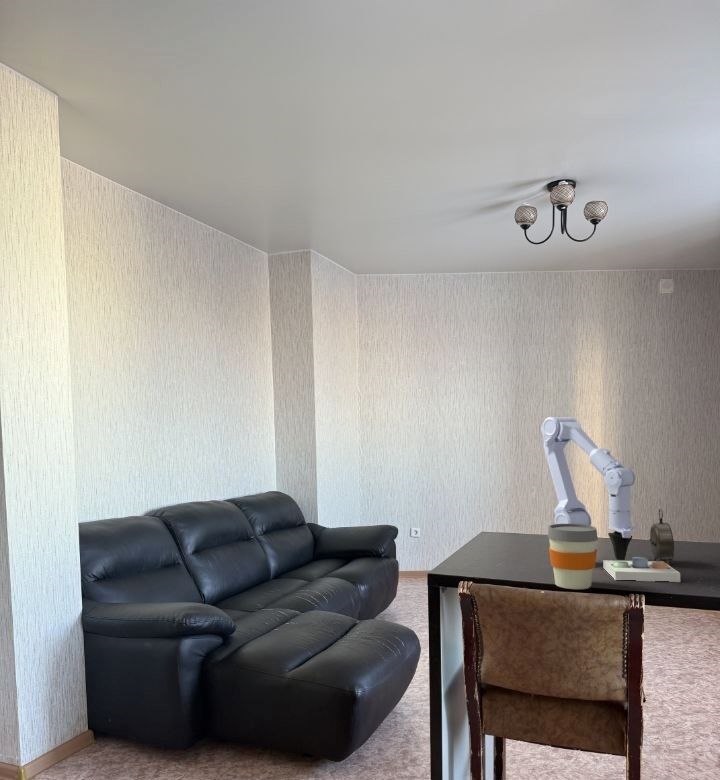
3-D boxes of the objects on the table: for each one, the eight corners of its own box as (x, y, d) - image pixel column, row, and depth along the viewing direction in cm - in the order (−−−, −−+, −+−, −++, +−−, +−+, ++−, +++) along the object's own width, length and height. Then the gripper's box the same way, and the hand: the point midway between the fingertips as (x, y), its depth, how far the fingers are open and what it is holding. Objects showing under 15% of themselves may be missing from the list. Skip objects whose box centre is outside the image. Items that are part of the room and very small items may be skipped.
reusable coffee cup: (541, 579, 185) (540, 523, 185) (586, 578, 185) (586, 523, 186) (558, 591, 172) (557, 531, 173) (606, 590, 173) (605, 531, 173)
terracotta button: (654, 575, 187) (654, 564, 187) (650, 572, 191) (649, 561, 191) (669, 576, 186) (669, 565, 186) (665, 572, 190) (664, 561, 190)
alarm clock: (675, 567, 198) (674, 511, 198) (655, 567, 199) (654, 511, 200) (666, 559, 209) (665, 506, 209) (647, 559, 210) (647, 506, 210)
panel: (615, 580, 183) (615, 571, 183) (603, 568, 197) (603, 560, 197) (680, 582, 181) (680, 573, 181) (663, 570, 195) (663, 561, 195)
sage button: (615, 574, 188) (614, 563, 188) (611, 571, 192) (611, 560, 192) (630, 575, 188) (630, 564, 188) (626, 571, 192) (626, 561, 192)
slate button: (634, 570, 187) (634, 559, 188) (630, 567, 191) (630, 556, 192) (649, 571, 187) (649, 560, 187) (645, 567, 191) (645, 557, 191)
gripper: (642, 514, 183) (642, 565, 182) (627, 506, 197) (628, 554, 197) (614, 514, 184) (615, 564, 183) (602, 506, 198) (602, 553, 198)
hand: (620, 559), depth 190 cm, fingers closed
